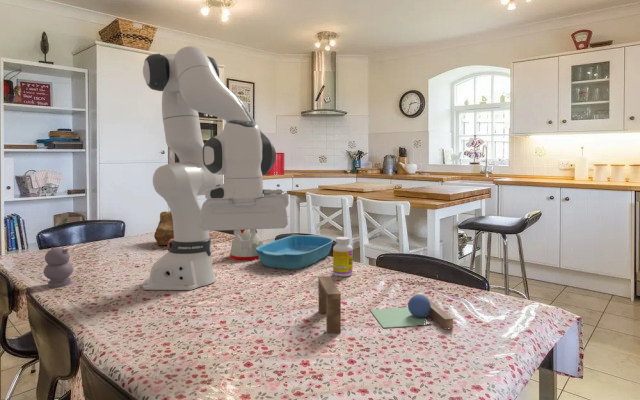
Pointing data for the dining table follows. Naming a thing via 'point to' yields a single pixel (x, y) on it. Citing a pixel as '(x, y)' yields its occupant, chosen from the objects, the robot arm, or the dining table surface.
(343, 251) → the supplement bottle
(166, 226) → the rough brown rock
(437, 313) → the stopper wall
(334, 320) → the bridge
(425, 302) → the ball
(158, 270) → the robot arm
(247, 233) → the kitchen timer
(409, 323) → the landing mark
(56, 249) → the cat figurine
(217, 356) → the dining table surface
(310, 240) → the casserole dish
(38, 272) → the dining table surface
